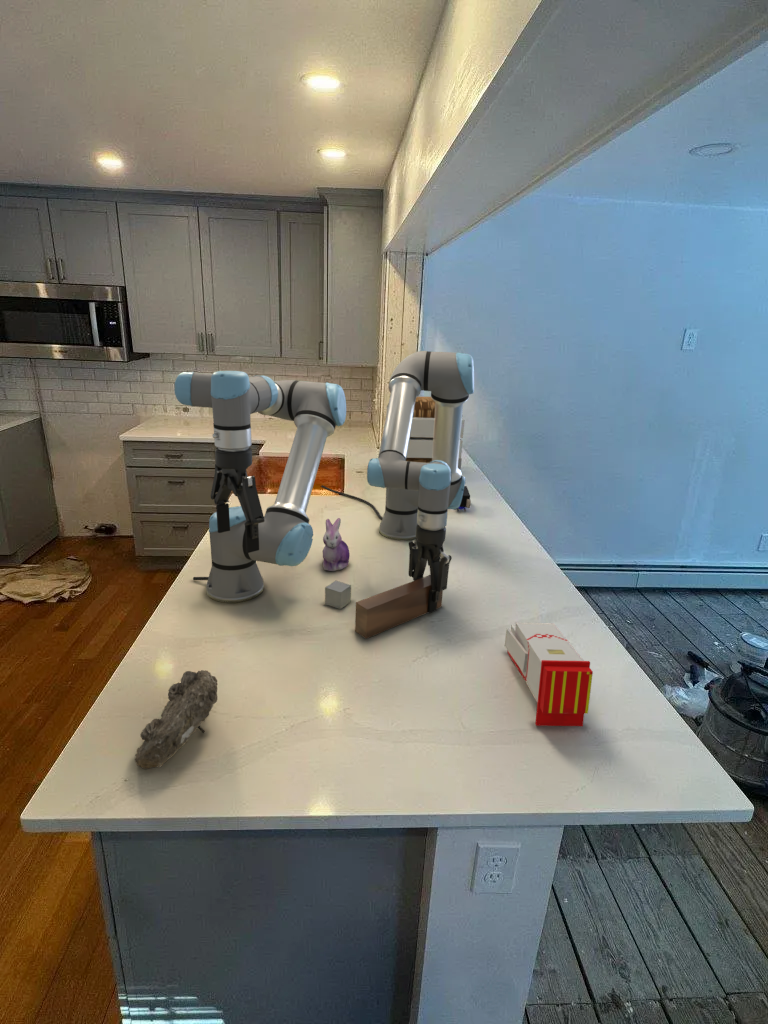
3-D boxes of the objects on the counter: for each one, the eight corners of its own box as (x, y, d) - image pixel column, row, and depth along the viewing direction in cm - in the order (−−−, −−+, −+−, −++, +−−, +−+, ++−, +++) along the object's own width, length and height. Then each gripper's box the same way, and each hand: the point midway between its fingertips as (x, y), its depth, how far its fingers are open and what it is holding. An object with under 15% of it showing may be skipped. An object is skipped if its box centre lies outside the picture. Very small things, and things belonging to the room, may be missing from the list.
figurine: (327, 574, 167) (327, 527, 162) (315, 561, 175) (315, 515, 170) (356, 569, 171) (357, 523, 166) (343, 556, 179) (343, 511, 174)
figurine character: (470, 516, 223) (465, 500, 237) (473, 499, 220) (467, 484, 233) (453, 516, 223) (449, 500, 236) (455, 498, 220) (451, 483, 233)
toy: (550, 607, 134) (601, 667, 105) (545, 659, 137) (594, 732, 108) (499, 606, 134) (537, 666, 104) (495, 659, 137) (530, 731, 107)
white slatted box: (382, 463, 289) (386, 382, 275) (445, 464, 293) (451, 384, 279) (390, 482, 257) (394, 392, 243) (460, 483, 261) (468, 394, 247)
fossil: (167, 671, 114) (219, 638, 109) (200, 702, 116) (252, 671, 112) (109, 762, 94) (169, 727, 89) (151, 796, 97) (212, 765, 92)
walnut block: (354, 631, 139) (355, 602, 136) (429, 600, 155) (432, 574, 152) (366, 638, 136) (367, 609, 133) (441, 606, 152) (443, 580, 149)
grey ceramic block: (324, 604, 151) (325, 587, 149) (335, 596, 155) (335, 580, 153) (340, 609, 149) (340, 592, 147) (350, 601, 153) (351, 584, 151)
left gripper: (191, 437, 125) (197, 527, 132) (245, 463, 108) (249, 564, 115) (223, 434, 130) (227, 520, 137) (279, 457, 112) (281, 555, 119)
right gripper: (397, 518, 147) (392, 598, 155) (446, 539, 135) (438, 625, 142) (418, 512, 152) (412, 590, 159) (467, 533, 139) (459, 616, 147)
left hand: (237, 541), depth 126 cm, fingers open, 13 cm apart
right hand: (425, 607), depth 151 cm, fingers closed on walnut block, 4 cm apart
